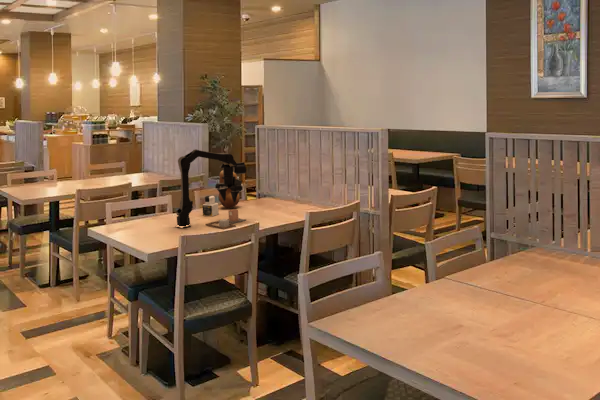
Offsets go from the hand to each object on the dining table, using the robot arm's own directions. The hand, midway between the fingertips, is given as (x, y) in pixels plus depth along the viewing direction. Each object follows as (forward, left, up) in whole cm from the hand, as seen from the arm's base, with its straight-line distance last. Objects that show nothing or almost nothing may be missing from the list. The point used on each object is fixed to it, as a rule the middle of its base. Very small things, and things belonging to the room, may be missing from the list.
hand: (229, 201), depth 349 cm
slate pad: (+1, -2, -12) cm, 12 cm away
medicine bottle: (+4, +24, -12) cm, 27 cm away
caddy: (-12, -6, -12) cm, 18 cm away
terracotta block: (+1, -2, -11) cm, 11 cm away
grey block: (-12, -9, -12) cm, 19 cm away
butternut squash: (+26, +33, -12) cm, 44 cm away
